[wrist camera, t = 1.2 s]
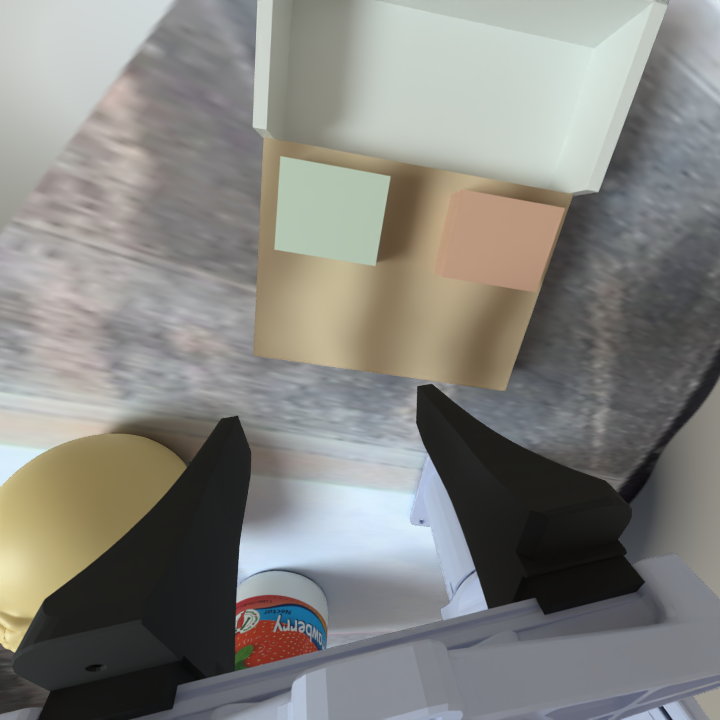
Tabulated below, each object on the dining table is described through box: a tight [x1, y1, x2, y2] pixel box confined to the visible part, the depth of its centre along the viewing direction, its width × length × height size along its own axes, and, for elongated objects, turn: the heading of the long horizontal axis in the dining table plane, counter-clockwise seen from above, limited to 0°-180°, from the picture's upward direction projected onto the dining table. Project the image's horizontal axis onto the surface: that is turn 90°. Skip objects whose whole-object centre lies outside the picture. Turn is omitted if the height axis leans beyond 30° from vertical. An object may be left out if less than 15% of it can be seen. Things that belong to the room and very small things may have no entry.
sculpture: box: [0, 434, 187, 652], centre depth 22 cm, size 11×12×11 cm
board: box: [253, 137, 573, 391], centre depth 20 cm, size 16×12×2 cm
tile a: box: [433, 190, 565, 292], centre depth 17 cm, size 5×4×2 cm
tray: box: [253, 0, 670, 196], centre depth 16 cm, size 16×8×4 cm, turn 81°
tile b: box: [274, 156, 391, 266], centre depth 17 cm, size 5×4×2 cm
